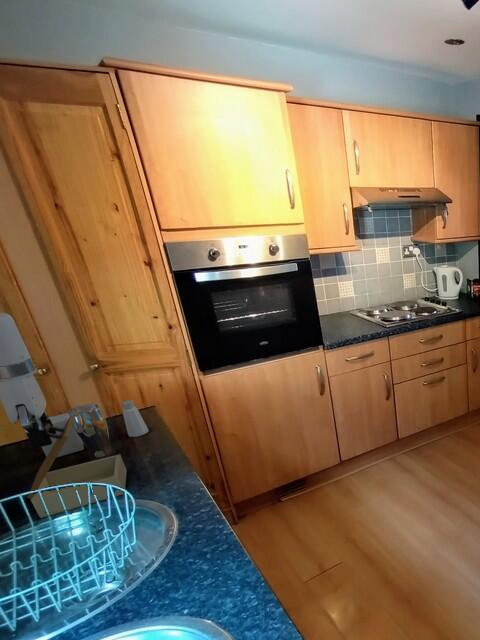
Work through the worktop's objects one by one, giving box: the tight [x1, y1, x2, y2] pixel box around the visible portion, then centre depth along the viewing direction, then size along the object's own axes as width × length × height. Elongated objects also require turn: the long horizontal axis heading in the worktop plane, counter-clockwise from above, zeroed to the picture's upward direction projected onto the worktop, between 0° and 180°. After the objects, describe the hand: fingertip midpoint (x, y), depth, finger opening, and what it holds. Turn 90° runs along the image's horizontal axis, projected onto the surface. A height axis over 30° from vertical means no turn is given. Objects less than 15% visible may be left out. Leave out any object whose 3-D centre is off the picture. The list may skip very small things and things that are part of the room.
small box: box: [34, 412, 85, 459], centre depth 130 cm, size 8×6×10 cm
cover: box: [27, 415, 75, 500], centre depth 107 cm, size 16×13×5 cm
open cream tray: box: [30, 453, 127, 519], centre depth 113 cm, size 16×13×5 cm
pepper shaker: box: [120, 399, 150, 438], centre depth 140 cm, size 5×5×11 cm
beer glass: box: [67, 403, 118, 461], centre depth 127 cm, size 7×7×15 cm
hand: (45, 439), depth 106 cm, fingers closed on cover, 5 cm apart
